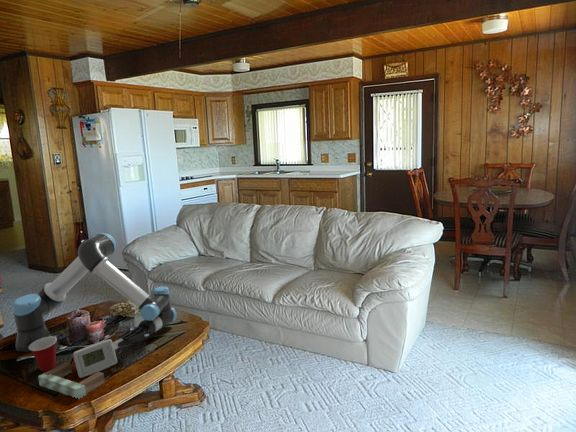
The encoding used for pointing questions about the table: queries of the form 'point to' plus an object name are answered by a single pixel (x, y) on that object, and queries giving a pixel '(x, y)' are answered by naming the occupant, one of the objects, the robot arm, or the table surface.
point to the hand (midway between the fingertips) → (110, 348)
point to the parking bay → (68, 387)
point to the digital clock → (95, 358)
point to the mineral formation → (124, 309)
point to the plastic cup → (44, 352)
